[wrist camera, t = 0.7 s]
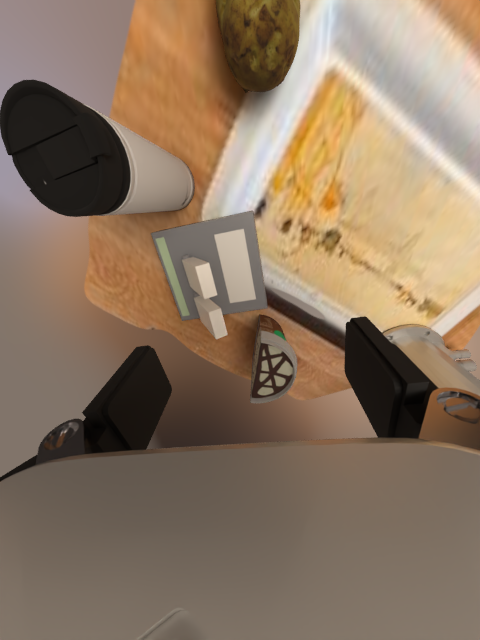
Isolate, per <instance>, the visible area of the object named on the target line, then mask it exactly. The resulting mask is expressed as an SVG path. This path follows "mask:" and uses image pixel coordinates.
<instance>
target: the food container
mask: <svg viewBox="0 0 480 640" xmlns="http://www.w3.org/2000/svg"><path fill="white" fill-rule="evenodd" d="M296 373H297V358H296V354H295V352H294V350H293V349H292V347H291V346H290V345H289V344H288V343H287V342H286V339H285V336H284V333H283V331H282V328H281V327H280V325H279V324H278V323H277V322H276V321H275V320H274V319H272V318H270V317H268V316H265V315H259V321H258V327H257V333H256V340H255V346H254V352H253V360H252V380H251V395H250V403H265V402H269V401H273V400H275V399H278V398H279V397H281V396H283V395H284V394H285V393H287V391H288V390H289V389H290V388H291V386H292V385H293V382H294V380H295V378H296Z"/></svg>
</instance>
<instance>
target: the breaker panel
mask: <svg viewBox="0 0 480 640" xmlns="http://www.w3.org/2000/svg"><path fill="white" fill-rule="evenodd" d="M151 235H152V238H153V241H154V244H155V246H156V249H157V252H158V255H159V258H160V260H161V263H162V266H163V269H164V272H165V274H166V277H167V280H168V283H169V286H170V288H171V291H172V294H173V297H174V300H175V302H176V305H177V308H178V311H179V314H180V316H181V319H182V321H183V320H190V319H197V318H200V316H199V313H198V310H197V307H196V304H195V300H194V298H195V296H194V292H196V291H194V290H193V289H192V288H191V287H190V284H189V281H188V278H187V275H186V272H185V268H184V265H183V262H182V260H183V258H182V256H184V255H189V258H191V257H195V258H198V259H201V260H203V261H206V262H209V264H210V268H211V272H212V276H213V280H214V284H215V288H216V291H217V295H216V296H213V297H210V298H209V299H210V300H212V301H213V302H214V303H215V304H216V305H218V306H219V307H220V308H221V311H222V315H225V314H231V313H238V312H245V311H252V310H259V309H266V308H267V298H266V292H265V285H264V279H263V272H262V265H261V259H260V252H259V245H258V239H257V232H256V226H255V219H254V212H253V211H249V212H244V213H240V214H235V215H230V216H226V217H221V218H217V219H212V220H207V221H203V222H198V223H194V224H189V225H184V226H180V227H175V228H171V229H166V230H161V231H157V232H154V233H151Z"/></svg>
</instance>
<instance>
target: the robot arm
mask: <svg viewBox="0 0 480 640" xmlns="http://www.w3.org/2000/svg"><path fill="white" fill-rule="evenodd" d="M470 356H471V353H470V352H469V350H467V349H464V350H456V351H451V350H449V349H448V348H446V347H445V344H444V341H443V339H442V337H441V336H440V335H439V334H438V333H436V332H435V331H434V330H432V329H430V328H428V327H426V326H421V325H403V326H399V327H395V328H393V329H390V330H388V331H386V332H384V333H383V334H382V333H381V332H380V331H379V330H378V329H377V328H376V327H375V325H374V324H373V323H372V322H371V321H370V320H369V319H368V318H367V317H358V318H351V320H350V322H347V323H346V339H345V374H346V377H347V379H348V381H349V382H350V384H351V386H352V388H353V390H354V392H355V394H356V396H357V398H358V400H359V402H360V404H361V405H362V407H363V409H364V411H365V413H366V415H367V417H368V419H369V421H370V423H371V425H372V427H373V429H374V430H375V432H376V434H377V436H378V438H352V439H325V440H305V441H286V442H267V443H248V444H230V445H213V446H196V447H179V448H165V449H164V448H163V449H147V450H146V448H147V446H148V444H149V442H150V440H151V437H152V435H153V433H154V431H155V428H156V426H157V424H158V421H159V419H160V417H161V415H162V413H163V410H164V408H165V406H166V404H167V401H168V399H169V397H170V395H171V391H172V388H171V385H170V383H169V380H168V378H167V376H166V374H165V372H164V369H163V367H162V365H161V363H160V361H159V359H158V356H157V354H156V352H155V350H154V349H153V348H151V347H150V346H140V347H136V348H135V349H134V351H133V352H132V353H131V354H130V355H129V357H128V358H127V359H126V360H125V362H124V363H123V364H122V365H121V367H120V368H119V369H118V370H117V371H116V373H115V374H114V375H113V376H112V377H111V378H110V380H109V381H108V382H107V383H106V385H105V386H104V387H103V388H102V389H101V391H100V392H99V393H98V394H97V395H96V397H95V398H94V399H93V400H92V401H91V403H90V404H89V405H88V406H87V407H86V409H85V410H84V411H83V412H82V413H83V414H84V415H85V417H86V418H85V420H84V421H82V420H81V419H72V420H68V421H66V422H64V423H62V424H60V425H59V426H57V427H55V428H54V429H53V430H52V431H50V432H49V433H48V434H47V435H46V436H45V437H44V439H43V440H42V442H41V443H40V446H39V448H38V454H37V455H36V456H34V457H33V458H31V459H29V460H28V461H26V462H24V463H23V464H21V465H20V466H18V467H16V468H15V469H13V470H11V471H10V472H9V473H7V474H5V475H3V476H2V477H0V640H480V380H479V379H477V378H476V377H475V376H473V375H472V374H471V373H470V372H469V371H475V370H476V368H477V367H476V364H475V362H474V361H473V360H471V359H467V360H457V361H455V359H457V358H459V359H460V358H470Z"/></svg>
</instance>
